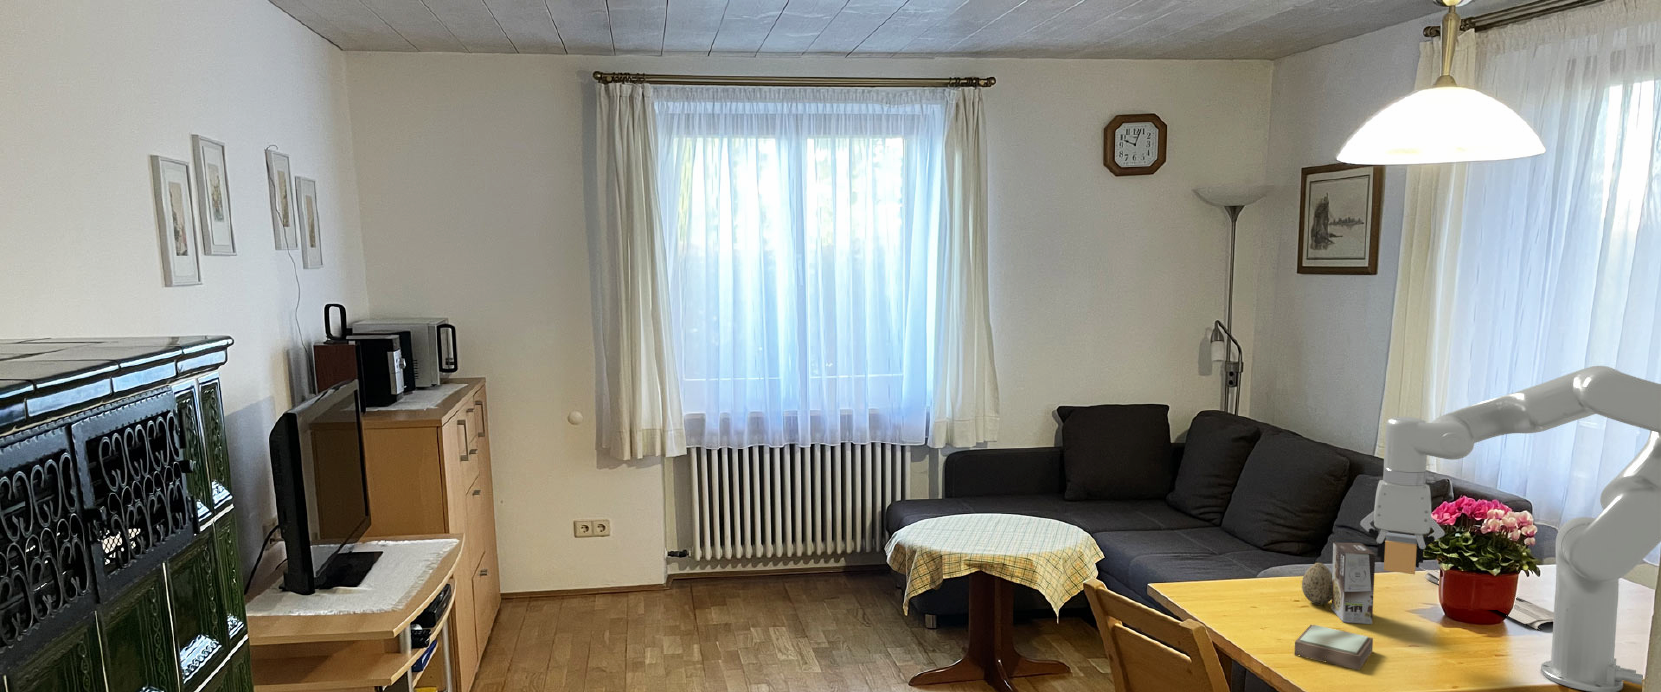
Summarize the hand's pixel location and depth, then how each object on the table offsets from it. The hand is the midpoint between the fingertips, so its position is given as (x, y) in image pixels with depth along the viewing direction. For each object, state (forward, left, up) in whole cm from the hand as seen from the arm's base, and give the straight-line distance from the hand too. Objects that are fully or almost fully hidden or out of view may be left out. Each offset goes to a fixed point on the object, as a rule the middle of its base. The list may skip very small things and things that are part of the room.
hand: (1399, 562), depth 201 cm
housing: (0, 0, -1) cm, 1 cm away
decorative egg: (+20, -19, -19) cm, 33 cm away
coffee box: (+12, -15, -19) cm, 27 cm away
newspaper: (-12, -46, -19) cm, 51 cm away
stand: (+10, +10, -19) cm, 23 cm away
